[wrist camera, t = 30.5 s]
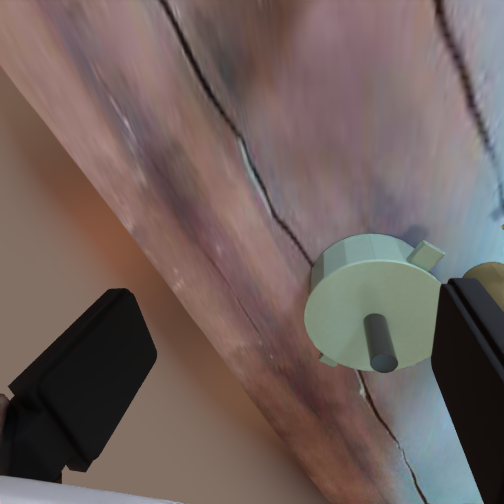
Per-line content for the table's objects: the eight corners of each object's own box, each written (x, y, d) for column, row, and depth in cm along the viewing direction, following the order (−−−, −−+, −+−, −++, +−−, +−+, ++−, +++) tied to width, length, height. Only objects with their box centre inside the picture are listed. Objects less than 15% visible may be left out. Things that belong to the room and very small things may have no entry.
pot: (282, 308, 47) (276, 343, 41) (363, 194, 37) (372, 217, 31) (368, 352, 48) (375, 393, 42) (471, 252, 38) (501, 286, 32)
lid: (281, 328, 41) (273, 373, 34) (354, 230, 32) (361, 265, 26) (388, 382, 41) (400, 436, 35) (486, 300, 33) (524, 351, 27)
